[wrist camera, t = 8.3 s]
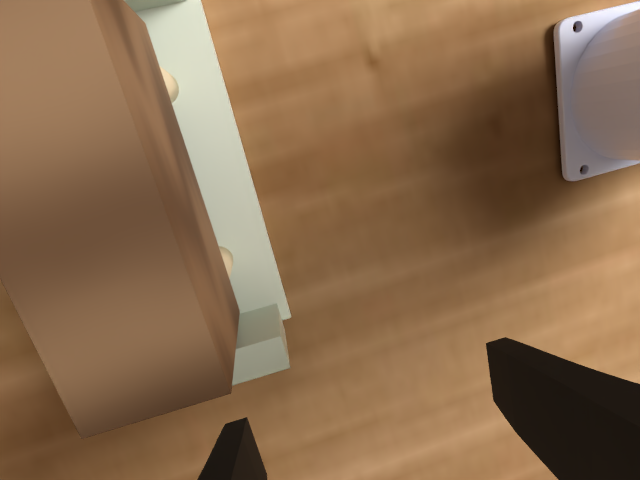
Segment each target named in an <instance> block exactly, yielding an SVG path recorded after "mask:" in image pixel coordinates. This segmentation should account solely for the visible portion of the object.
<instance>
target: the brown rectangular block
mask: <svg viewBox="0 0 640 480" xmlns="http://www.w3.org/2000/svg"><path fill="white" fill-rule="evenodd" d="M0 279H1V281H2V283H3V285H4V287H5V289H6V291H7V293H8V295H9V297H10V299H11V301H12V303H13V305H14V307H15V309H16V311H17V313H18V315H19V317H20V319H21V321H22V323H23V325H24V326H25V328H26V330H27V332H28V334H29V336H30V338H31V340H32V342H33V344H34V346H35V348H36V350H37V352H38V354H39V356H40V358H41V360H42V362H43V364H44V366H45V368H46V370H47V372H48V374H49V376H50V378H51V380H52V382H53V384H54V386H55V388H56V390H57V392H58V394H59V396H60V397H61V399H62V401H63V403H64V405H65V407H66V409H67V411H68V413H69V415H70V417H71V419H72V421H73V423H74V425H75V427H76V429H77V431H78V433H79V435H80V437H81V439H83V438H87V437H90V436H93V435H96V434H100V433H103V432H106V431H110V430H113V429H116V428H119V427H123V426H126V425H129V424H132V423H136V422H139V421H142V420H146V419H149V418H152V417H155V416H159V415H162V414H165V413H168V412H172V411H175V410H178V409H182V408H185V407H188V406H191V405H195V404H198V403H201V402H205V401H208V400H211V399H214V398H218V397H221V396H224V395H227V394H231V389H232V380H233V371H234V362H235V352H236V343H237V334H238V324H239V315H240V310H239V307H238V304H237V301H236V298H235V295H234V291H233V288H232V285H231V282H230V279H229V276H228V273H227V270H226V267H225V264H224V261H223V258H222V255H221V252H220V249H219V246H218V243H217V240H216V237H215V234H214V231H213V228H212V224H211V221H210V218H209V215H208V212H207V209H206V206H205V203H204V200H203V197H202V194H201V191H200V188H199V185H198V182H197V179H196V176H195V173H194V170H193V167H192V164H191V161H190V157H189V154H188V151H187V148H186V145H185V142H184V139H183V136H182V133H181V130H180V127H179V124H178V121H177V118H176V115H175V112H174V109H173V106H172V103H171V100H170V97H169V94H168V91H167V87H166V84H165V81H164V78H163V75H162V72H161V69H160V66H159V63H158V60H157V57H156V54H155V51H154V48H153V45H152V42H151V39H150V36H149V33H148V30H147V27H146V24H145V22H144V21H143V20H142V19H141V18H140V17H139V16H138V15H137V14H136V13H135V12H134V11H133V10H132V9H131V8H130V7H129V6H128V4H127V3H126V2H125V1H124V0H0Z"/></svg>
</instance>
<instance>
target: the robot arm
mask: <svg viewBox="0 0 640 480" xmlns="http://www.w3.org/2000/svg"><path fill="white" fill-rule="evenodd" d="M573 24H575V25H576V31H575V32H574V31H573ZM554 48H555V64H556V80H557V96H558V112H559V128H560V145H561V161H562V175H563V178H564V179H565V180H567V181H578V180H581V179H585V178H589V177H592V176H596V175H599V174H603V173H607V172H610V171H614V170H617V169H621V168H625V167H628V166H632V165H635V164H639V163H640V1H637V2H632V3H628V4H624V5H620V6H616V7H611V8H607V9H603V10H599V11H594V12H590V13H586V14H582V15H578V16H573V17H569V18H566V19H563V20H561V21H559V22H558V23H557V24H556V26H555V28H554ZM581 166H582V167H583V170H582V172H581V173H580V168H581ZM486 347H487V355H488V363H489V370H490V378H491V385H492V393H493V400H494V402H495V403H496V405H497V406H498V408H499V409H500V411H501V412H502V414H503V415H504V417H505V418H506V419H507V421H508V422H509V423H510V425H511V426H512V428H513V429H514V430H515V432H516V433H517V434H518V435H519V436H520V437H521V439H522V440H523V441H524V442H525V443H526V444H527V445H528V446H529V447H530V449H531V450H532V451H533V452H534V453H535V454H536V455H537V456H538V458H539V459H540V460H541V461H542V462H543V463H544V464H545V465H546V466H547V467H548V469H549V470H550V471H551V472H552V473H553V474H554V475H555V476H556V477H557V478H558V480H640V384H638V383H634V382H631V381H628V380H624V379H621V378H618V377H615V376H612V375H609V374H605V373H602V372H599V371H596V370H594V369H591V368H588V367H585V366H582V365H579V364H576V363H574V362H571V361H568V360H565V359H563V358H560V357H557V356H555V355H552V354H550V353H547V352H544V351H542V350H539V349H536V348H534V347H531V346H528V345H526V344H523V343H520V342H518V341H515V340H512V339H509V338H506V337H505V338H501V339H498V340H495V341H492V342H488V343H486ZM198 480H267V473H266V470H265V468H264V465H263V462H262V459H261V456H260V453H259V450H258V448H257V445H256V442H255V439H254V436H253V433H252V430H251V428H250V425H249V422H248V419H247V417H246V418H243V419H240V420H236V421H233V422H230V423H227V424H225V426H224V427H223V429H222V431H221V433H220V435H219V437H218V439H217V441H216V444H215V446H214V448H213V450H212V452H211V454H210V456H209V458H208V460H207V462H206V464H205V466H204V468H203V470H202V472H201V474H200V476H199V478H198Z"/></svg>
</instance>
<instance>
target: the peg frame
mask: <svg viewBox="0 0 640 480" xmlns="http://www.w3.org/2000/svg"><path fill="white" fill-rule="evenodd" d="M124 1H125V2H126V3H127V4H128V6H129V7H130V8H131V9H132V10H133V11H134V12H135V13H136V14H137V15H138V16H139V17H140V18H141V19H142V20H143V21H144V22H145V24H146V27H147V30H148V33H149V36H150V39H151V42H152V45H153V48H154V51H155V54H156V57H157V60H158V63H159V66H160V69H161V72H162V75H163V78H164V81H165V84H166V87H167V91H168V94H169V97H170V100H171V103H172V106H173V109H174V112H175V115H176V118H177V121H178V124H179V127H180V130H181V133H182V136H183V139H184V142H185V145H186V148H187V151H188V154H189V157H190V161H191V164H192V167H193V170H194V173H195V176H196V179H197V182H198V185H199V188H200V191H201V194H202V197H203V200H204V203H205V206H206V209H207V212H208V215H209V218H210V221H211V224H212V228H213V231H214V234H215V237H216V240H217V243H218V246H219V249H220V252H221V255H222V258H223V261H224V264H225V267H226V270H227V273H228V276H229V279H230V282H231V285H232V288H233V291H234V295H235V298H236V301H237V304H238V307H239V310H240V315H239V324H238V334H237V343H236V352H235V362H234V371H233V380H232V385H236V384H239V383H242V382H246V381H249V380H252V379H256V378H259V377H262V376H265V375H269V374H272V373H275V372H279V371H282V370H285V369H289V368H290V362H289V355H288V348H287V341H286V334H285V329H284V325H283V322H282V320H285V319H288V318H291V313H290V309H289V306H288V303H287V299H286V296H285V292H284V289H283V285H282V282H281V278H280V275H279V271H278V268H277V264H276V261H275V257H274V254H273V250H272V247H271V243H270V240H269V236H268V233H267V229H266V226H265V222H264V219H263V215H262V212H261V208H260V205H259V201H258V198H257V194H256V191H255V187H254V184H253V180H252V177H251V173H250V170H249V166H248V163H247V159H246V156H245V152H244V149H243V146H242V142H241V139H240V135H239V132H238V128H237V125H236V121H235V118H234V114H233V111H232V107H231V104H230V100H229V97H228V93H227V90H226V86H225V83H224V79H223V76H222V72H221V69H220V65H219V62H218V58H217V55H216V51H215V48H214V44H213V41H212V37H211V34H210V30H209V27H208V23H207V20H206V16H205V13H204V9H203V6H202V2H201V0H124Z"/></svg>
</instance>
